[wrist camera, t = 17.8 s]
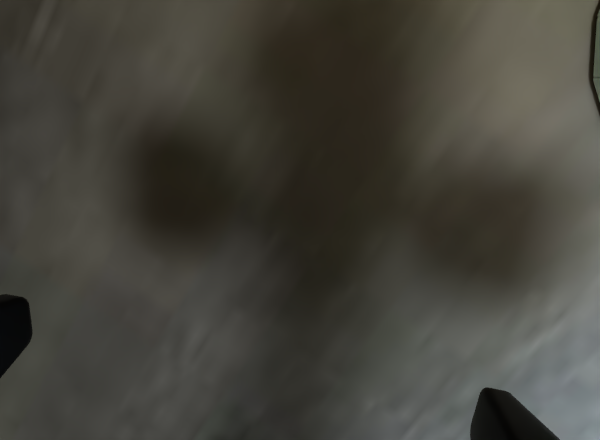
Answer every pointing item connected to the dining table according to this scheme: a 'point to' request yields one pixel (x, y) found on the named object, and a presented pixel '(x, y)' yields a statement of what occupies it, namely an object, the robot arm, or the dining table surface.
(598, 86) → the bowl
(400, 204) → the dining table surface
